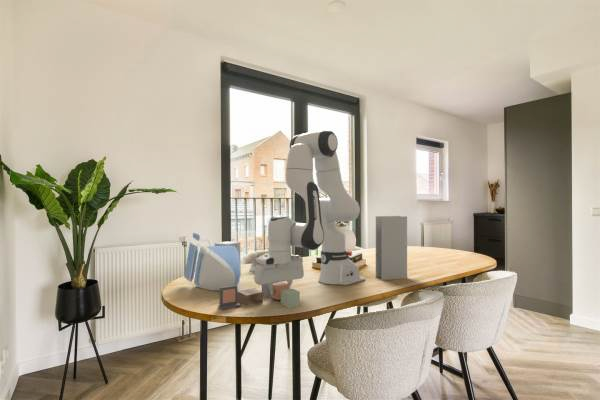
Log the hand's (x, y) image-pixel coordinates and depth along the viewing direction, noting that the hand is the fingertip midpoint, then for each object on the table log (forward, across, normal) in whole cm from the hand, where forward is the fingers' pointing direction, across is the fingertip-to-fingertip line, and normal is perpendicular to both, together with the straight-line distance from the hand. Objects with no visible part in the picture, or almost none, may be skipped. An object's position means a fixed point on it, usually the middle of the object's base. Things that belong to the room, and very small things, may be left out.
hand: (280, 292), depth 130 cm
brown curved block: (+2, +11, -3) cm, 12 cm away
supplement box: (+3, +4, -48) cm, 48 cm away
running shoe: (+3, -18, -45) cm, 48 cm away
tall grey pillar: (+3, -63, -1) cm, 63 cm away
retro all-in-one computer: (+2, +14, -31) cm, 34 cm away
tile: (+2, +20, -1) cm, 21 cm away
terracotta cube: (+2, 0, 0) cm, 2 cm away
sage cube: (+2, 0, +8) cm, 9 cm away
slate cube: (+2, 0, -8) cm, 8 cm away
